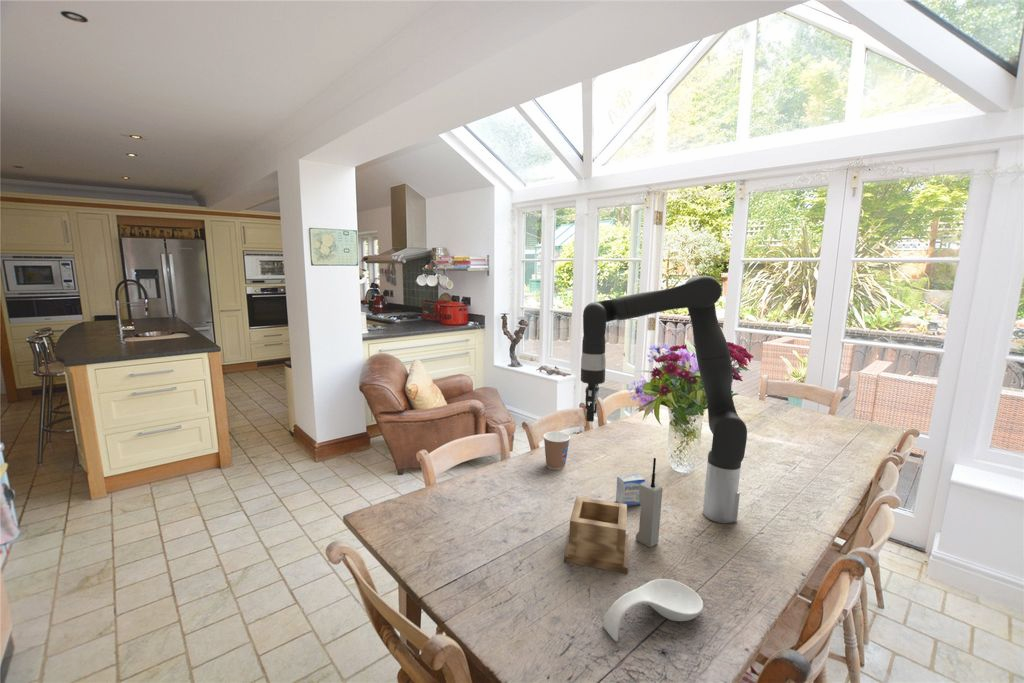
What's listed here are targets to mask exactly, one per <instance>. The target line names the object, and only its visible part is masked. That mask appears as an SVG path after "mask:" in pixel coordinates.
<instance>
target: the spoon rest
mask: <svg viewBox="0 0 1024 683" xmlns="http://www.w3.org/2000/svg"><path fill="white" fill-rule="evenodd" d="M703 601H704V600H702V598H701V596H700V595H699V594H698V593H697V592H696V591H695V590H693V589H692V588H691V587H689V586H688V585H686V584H684V583H682V582H680V581H678V580H674V579H668V578H667V579H666V578H657V579H653V580H650V581H648V582H646V583H644V584H642V585H641V586H639V587H636V588H635V589H632V590H629V591H628V592H626V593H624V594H622V596H620V597H619V598H617V600H615V601H614V603H612V605H611V606H610V607H609V608H608V610H607V612H606V613H605V615H604V617H603V620H602V627H603V629H604V630H605V631H606V633H608V635H609V637H611V639H612V640H613V641H615V642H618V641H619V636H620V635H619V634H620V628H621V623H622V621H623V618H624V616H625V615H626V614H627V613H628V612H629V611H630V610H631V609H633V608H635V607H637V606H639V605H642V604H644V605H648V606H650V607H652V609H653V610H655V611H656V612H657V613H658V614H659V615H661V616H662V617H664V618H665V619H667V620H669V621H673V622H688V621H692V620H693V619H696V618H697V617H698V616H699V615H700V614H701V613H702V611H703V609H704V602H703Z"/></svg>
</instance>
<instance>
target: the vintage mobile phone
mask: <svg viewBox="0 0 1024 683" xmlns="http://www.w3.org/2000/svg"><path fill="white" fill-rule="evenodd" d="M656 463H657V458H656V457H654V458H653V463H652V474H651V481H649V480H645V482H643V483H641V484H639V501H640V504H639V505H640V510H639V511H640V513H639V524H638V528H639V529H638V532H637V534H636V535H635V540H636V541H638V542H639V543H641V544H643V545H645V546H647V547H648V548H652V547H653V546H655V545H657V544H658V543H659V537H660V528H661V527H660V525H661V515H662V514H661V513H662V499H663V487H662V486H660V485H658V484H655V482H656V481H655V480H656Z"/></svg>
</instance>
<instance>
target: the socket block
mask: <svg viewBox="0 0 1024 683" xmlns="http://www.w3.org/2000/svg"><path fill="white" fill-rule="evenodd" d="M574 500H575V501H574V505H573V508H572V512H571V516H570V519H569V532H568V533H569V536H568V538H567V539H568V540H567V542H566V543H567V544H566V547H565V550H564V555H563V562H567V563H571V564H577V565H581V566H587V567H593V568H597V569H603V570H608V571H613V572H617V573H618V572H619V573H624V574H628V567H629V565H628V564H629V540H630V539H629V534H628V533H627V513H628V512H627V511H628V508H627V507H628V506H627V504H621V503H618V502H614V501H609V500H608V501H607V500H601V499H594V498H588V497H587V498H586V497H583V496H582V497H580V496H576V497H575V499H574Z"/></svg>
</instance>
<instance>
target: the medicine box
mask: <svg viewBox="0 0 1024 683" xmlns="http://www.w3.org/2000/svg"><path fill="white" fill-rule="evenodd" d="M645 481H646V479H645V478H644V477H642V475H640V474H639V473H637V474H629V475H620V476H617V477H616V491H615V492H616V493H615V494H616V495H615V501H616V503H621V504H627V507H631V506H637V505H640V501H639V484H641V483H643V482H645Z"/></svg>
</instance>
